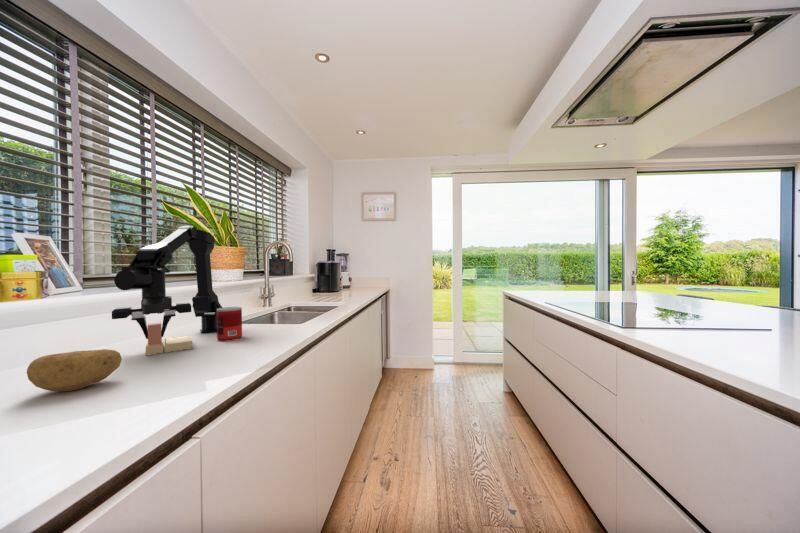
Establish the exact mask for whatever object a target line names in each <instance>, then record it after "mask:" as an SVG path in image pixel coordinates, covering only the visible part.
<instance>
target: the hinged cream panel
mask: <svg viewBox="0 0 800 533" xmlns="http://www.w3.org/2000/svg"><path fill="white" fill-rule="evenodd" d="M193 344H194V343H193V338H192V336H191V335H185V336H177V337H169V338H163V351H164V353H165V352H166V353H171V352H170V351H173V352H177V350H179V351H184V350H183V349H186V350H191V348H192V349H193Z"/></svg>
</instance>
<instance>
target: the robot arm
mask: <svg viewBox="0 0 800 533" xmlns="http://www.w3.org/2000/svg"><path fill="white" fill-rule="evenodd" d="M214 236H215V235H213V234H212V233H211V232H209V231H205V230H201V229H198V228H196V227H193V226H179V227H177V228H176V230H174V231H173V232H172V233H170V234H169V235H168V236H165V237H164V238H163V239H162V240H161V241H159V242H157V243H153V244H149V245H146V246H144V247H141V248H139V249H138V250H137V251H136V254H135V256H134V257H133V259H132V260H131V262H130V264H128V265H121V270H120V271H119V272H118V273H116V275H115V277H114V279H113V281H114V284H115V287H117V288H118V289H119V290H122V291H134V290H141V301H140V308H132V306H123V307H115V308H114V309H113V310H111V320H117V319H118V320H119V319H120V320H121V319H127V318H128V317H129V316H130V317H131V318H130V320H131V321H135V322H137V324H138V325H139V326H140V329H141V330H142V332H143V335H144V337H145V339H146V340H148V324H147V319H146V315H147V316H148V315H151V314H163V317H162V318H163V319H162V323H161V337H162V338H164V335H165V333H166V330H167V327H168V324H169V322H170V321H171V318H173V317H176V315H177V314H176V312H177V313H179V314H184V313H191V312H192V308H193V312H194V316H195V317H196V318H198V317H199V318H200V317H201V318H200V320H201V328H200V329H199V332H200V333H201V334H205V333H213V332H217V309H219V308H223V306H222V305H221V303H220V302H219V296H218V295H217V294H216V292H215V291H214V290H213V280H212V278H213V277H212V266H211V265H212V264H211V254H212V252H213V250H214V249H215V237H214ZM186 243H187V244H188V248H189V250H190V251H191V253H192V254H193V256H194V260H195V271H196V272H195V273H196V284H197V285H196V286H197V292H196V294H195V296H193V297H192V298H191V300H192V304H191V303H189V302H177V303H175V305H173V304H172V303H173V302H172V301H173V299H172V295H169V296H168V295H166V274H168V273H171V271H170V270H169V268H167V267H166V266H167V265H168V263H169V262H170V261H171V260H172V259H173V253H174V252H175V251H177V250H178V249H179V248H181V247H182V246H184V244H186Z"/></svg>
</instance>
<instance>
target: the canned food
mask: <svg viewBox="0 0 800 533" xmlns="http://www.w3.org/2000/svg"><path fill="white" fill-rule="evenodd" d="M242 311H243V310H242V307H241V306H224V307H222V308H219V309H217V331H216V338H217V341H219V342H231V341H235V339H236V340H239V339H241V338H242V337H243V312H242ZM230 340H231V341H230Z"/></svg>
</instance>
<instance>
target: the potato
mask: <svg viewBox="0 0 800 533" xmlns="http://www.w3.org/2000/svg"><path fill="white" fill-rule="evenodd" d="M122 360H123V358H122V355H121V353H120V352H119V351H117V350H114V349H103V348H101V349H91V350H75V351H70V352H69V351H68V352H62V353H51V354H46V355H43V356H40V357H37V358H35V359H33V361H31V362H30V363H29V365H28V366H27V369H26V374H27V378H28V380H29V381H30V382H31V384H33V385H34V387H37V388H39V389H42V390H45V391H50V392H73V391H77V390H80V389H83V388H86V387H89V386H91V385H94V384H97V383H100V382H102V381H103V380H106V379H107V378H108V377H109V376H110V375H112V374H113V373H114V372H115V371H116V370H118V368H119V367H120V365H121V364H122Z"/></svg>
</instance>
